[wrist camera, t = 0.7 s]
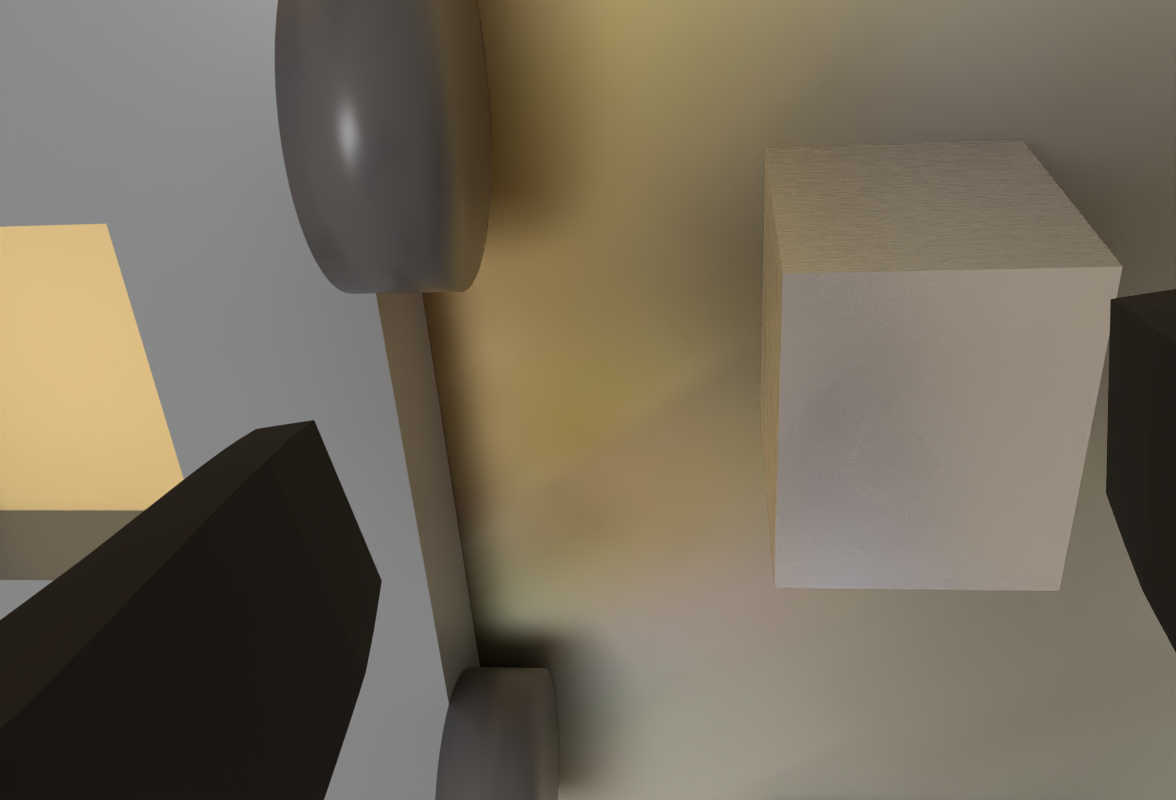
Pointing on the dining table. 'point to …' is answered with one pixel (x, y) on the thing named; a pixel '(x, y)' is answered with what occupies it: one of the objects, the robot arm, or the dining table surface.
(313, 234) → the chassis
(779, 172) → the beige block
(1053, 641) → the dining table surface
